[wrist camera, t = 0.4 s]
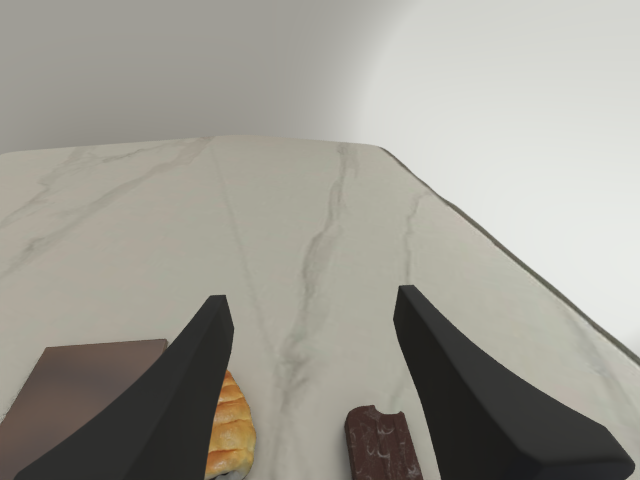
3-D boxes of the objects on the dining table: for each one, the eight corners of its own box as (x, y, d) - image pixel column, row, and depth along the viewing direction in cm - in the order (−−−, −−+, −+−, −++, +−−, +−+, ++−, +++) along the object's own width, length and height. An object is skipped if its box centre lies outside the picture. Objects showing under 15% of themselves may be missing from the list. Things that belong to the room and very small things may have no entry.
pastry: (170, 384, 28) (159, 366, 25) (243, 363, 30) (239, 344, 27) (169, 512, 21) (154, 504, 19) (262, 474, 23) (260, 462, 21)
